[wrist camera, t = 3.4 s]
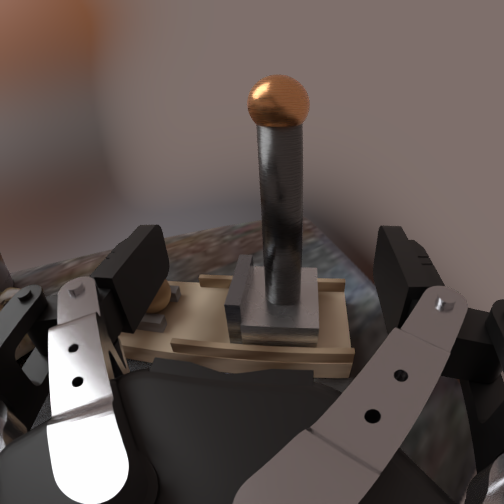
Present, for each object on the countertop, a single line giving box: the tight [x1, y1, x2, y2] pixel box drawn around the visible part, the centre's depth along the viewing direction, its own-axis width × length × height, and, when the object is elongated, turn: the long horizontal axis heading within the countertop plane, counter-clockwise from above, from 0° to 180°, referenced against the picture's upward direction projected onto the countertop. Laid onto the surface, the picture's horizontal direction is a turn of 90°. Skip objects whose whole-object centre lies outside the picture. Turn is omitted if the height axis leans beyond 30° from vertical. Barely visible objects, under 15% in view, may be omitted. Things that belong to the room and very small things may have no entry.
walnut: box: [146, 279, 171, 313], centre depth 29 cm, size 4×4×4 cm
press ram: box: [224, 75, 319, 348], centre depth 23 cm, size 7×8×20 cm
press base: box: [118, 275, 355, 378], centre depth 29 cm, size 24×10×7 cm, turn 82°
